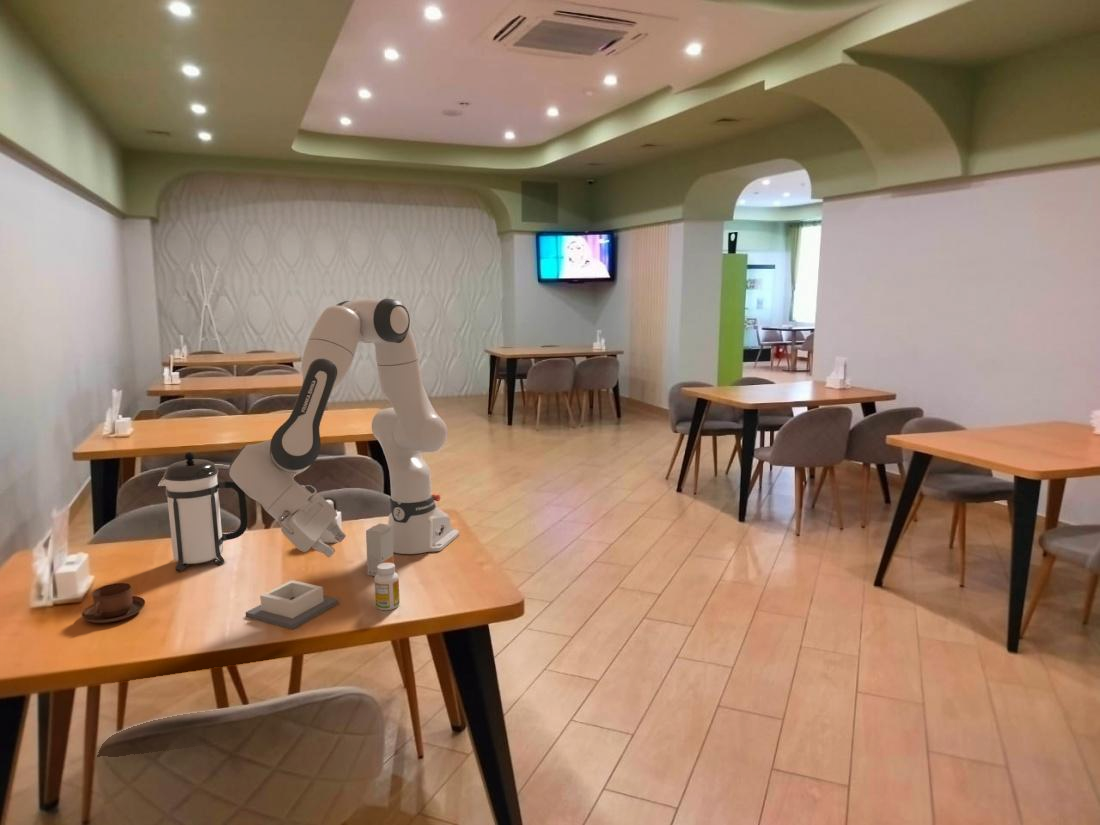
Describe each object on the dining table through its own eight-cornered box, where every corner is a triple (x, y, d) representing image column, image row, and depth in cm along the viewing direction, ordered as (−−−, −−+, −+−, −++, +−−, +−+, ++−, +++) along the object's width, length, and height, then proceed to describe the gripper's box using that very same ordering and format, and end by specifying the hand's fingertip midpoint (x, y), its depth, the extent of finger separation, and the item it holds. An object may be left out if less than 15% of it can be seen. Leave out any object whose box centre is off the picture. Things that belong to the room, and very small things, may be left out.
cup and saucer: (138, 623, 155) (135, 597, 154) (75, 631, 151) (71, 604, 150) (151, 601, 166) (148, 576, 165) (93, 607, 163) (90, 582, 162)
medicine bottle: (317, 535, 210) (315, 495, 208) (342, 534, 211) (340, 495, 209) (312, 543, 203) (309, 503, 201) (338, 542, 204) (335, 502, 202)
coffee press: (201, 576, 180) (191, 461, 175) (154, 568, 185) (142, 456, 180) (251, 552, 196) (243, 446, 191) (207, 545, 201) (197, 442, 196)
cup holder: (293, 592, 170) (292, 574, 169) (338, 603, 164) (337, 585, 163) (245, 616, 158) (244, 597, 157) (292, 629, 152) (291, 609, 151)
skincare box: (381, 577, 179) (379, 532, 177) (367, 575, 180) (365, 530, 178) (394, 568, 184) (393, 524, 182) (380, 566, 186) (378, 522, 184)
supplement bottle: (394, 598, 167) (393, 559, 165) (403, 607, 162) (401, 566, 161) (372, 604, 164) (370, 564, 162) (380, 613, 159) (378, 572, 158)
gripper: (285, 510, 148) (335, 554, 150) (314, 483, 168) (357, 522, 170) (265, 530, 148) (315, 574, 150) (296, 501, 168) (339, 540, 170)
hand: (338, 546), depth 160 cm, fingers open, 8 cm apart
